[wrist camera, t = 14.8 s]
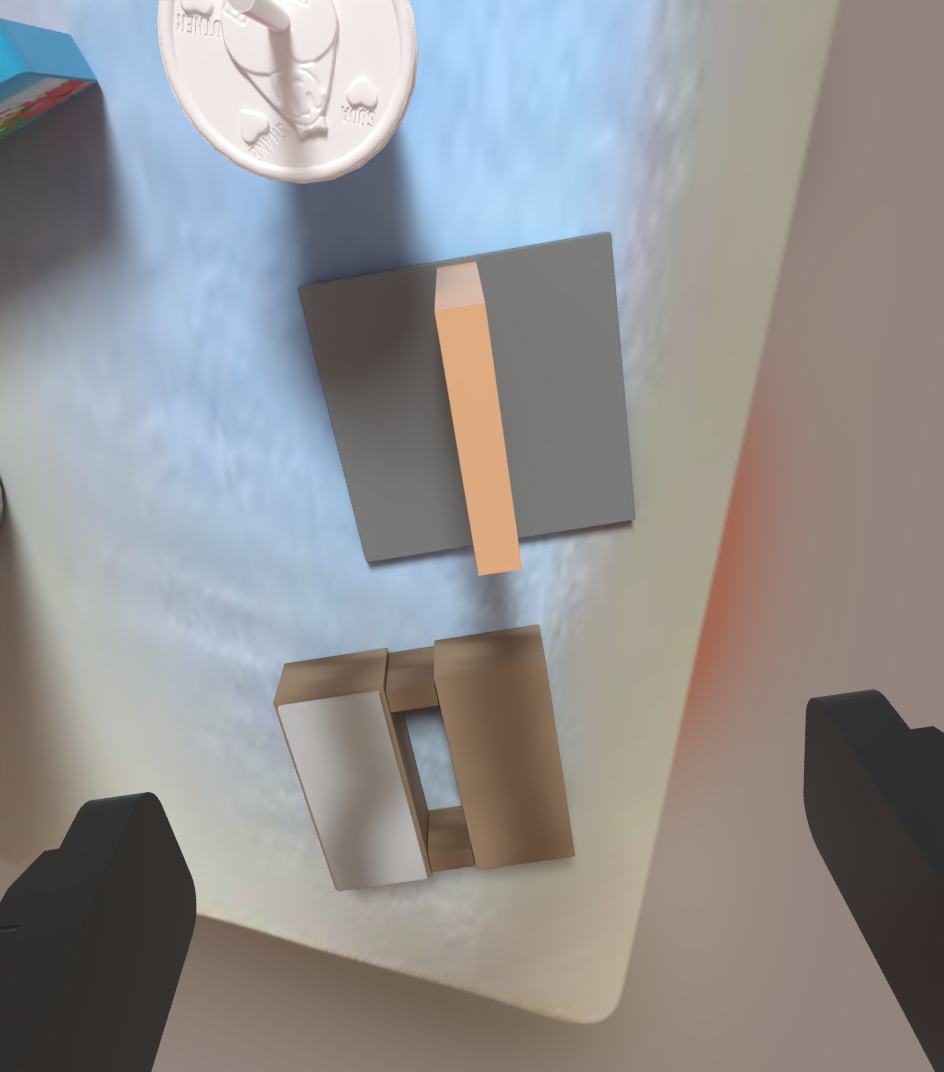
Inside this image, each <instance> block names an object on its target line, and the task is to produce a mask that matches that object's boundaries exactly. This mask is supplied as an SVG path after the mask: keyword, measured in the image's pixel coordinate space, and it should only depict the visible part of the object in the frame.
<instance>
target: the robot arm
mask: <svg viewBox="0 0 944 1072" xmlns="http://www.w3.org/2000/svg"><path fill="white" fill-rule="evenodd" d="M2 513H3V501H2V491H1V486H0V526H1V519H2ZM804 805H805V811H806V816H807V820H808V824H809V827H810V831H811V834H812V837H813V839H814V842H815V844H816V846H817V848H818V850H819V852H820V854H821V856H822V858H823V860H824V862H825V864H826V865H827V867H828V869H829V871H830V873H831V875H832V877H833V879H834V881H835V883H836V885H837V886H838V888H839V890H840V892H841V894H842V896H843V898H844V900H845V902H846V904H847V905H848V907H849V909H850V911H851V913H852V915H853V917H854V919H855V921H856V922H857V924H858V926H859V928H860V930H861V932H862V934H863V936H864V938H865V940H866V942H867V944H868V945H869V947H870V949H871V951H872V953H873V955H874V957H875V959H876V961H877V963H878V964H879V966H880V968H881V970H882V972H883V974H884V976H885V978H886V979H887V981H888V983H889V985H890V987H891V989H892V991H893V993H894V995H895V997H896V999H897V1001H898V1002H899V1004H900V1006H901V1008H902V1010H903V1012H904V1014H905V1016H906V1018H907V1019H908V1021H909V1023H910V1025H911V1027H912V1029H913V1031H914V1033H915V1035H916V1037H917V1039H918V1040H919V1042H920V1044H921V1046H922V1048H923V1050H924V1052H925V1054H926V1055H927V1057H928V1059H929V1061H930V1063H931V1065H932V1067H933V1069H934V1071H935V1072H944V733H943V732H942V731H940V730H939V729H937V728H935V727H934V726H931V727H924V728H917V729H910V728H909V727H908V726H907V724H906V723H905V722H904V721H903V719H902V718H901V717H900V715H899V714H898V713H897V711H896V710H895V709H894V708H893V707H892V705H891V704H890V703H889V701H888V700H887V699H886V698H885V696H884V695H883V694H882V693H880V692H879V691H877V690H873V689H872V690H865V691H858V692H851V693H844V694H837V695H830V696H824V697H817V698H812V699H810V700H809V702H808V704H807V708H806V727H805V759H804ZM195 919H196V893H195V887H194V882H193V879H192V876H191V874H190V871H189V869H188V866H187V864H186V862H185V859H184V857H183V854H182V852H181V850H180V847H179V845H178V842H177V840H176V838H175V835H174V833H173V830H172V828H171V826H170V823H169V821H168V818H167V816H166V814H165V811H164V809H163V807H162V804H161V802H160V800H159V799H158V798H157V796H156V795H155V794H153V793H151V792H146V793H139V794H132V795H125V796H118V797H111V798H104V799H97V800H91V801H88V802H86V803H85V804H84V805H83V806H82V807H81V808H80V810H79V812H78V813H77V815H76V817H75V819H74V821H73V823H72V825H71V827H70V829H69V830H68V832H67V834H66V836H65V838H64V840H63V842H62V844H61V846H60V848H59V849H55V850H48V851H44V852H43V853H42V854H41V855H40V856H39V857H38V858H37V859H36V860H35V861H34V862H33V863H32V864H31V865H30V866H29V868H28V869H27V870H26V871H25V872H24V873H23V874H22V875H21V876H20V877H19V878H18V879H17V880H16V881H15V882H14V883H13V884H12V885H11V886H10V887H9V888H8V890H7V891H6V893H5V895H4V897H3V898H2V900H1V902H0V1072H151V1070H152V1067H153V1064H154V1061H155V1057H156V1054H157V1051H158V1047H159V1044H160V1041H161V1037H162V1034H163V1031H164V1028H165V1024H166V1021H167V1018H168V1014H169V1011H170V1008H171V1004H172V1001H173V998H174V995H175V991H176V988H177V985H178V981H179V978H180V974H181V971H182V968H183V965H184V961H185V958H186V955H187V952H188V948H189V945H190V942H191V938H192V935H193V931H194V926H195Z"/></svg>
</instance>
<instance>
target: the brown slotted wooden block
mask: <svg viewBox="0 0 944 1072" xmlns="http://www.w3.org/2000/svg"><path fill="white" fill-rule="evenodd" d="M273 703H274V706H275V709H276V712H277V715H278V718H279V721H280V724H281V727H282V730H283V733H284V736H285V739H286V742H287V745H288V748H289V751H290V754H291V757H292V760H293V763H294V766H295V769H296V772H297V775H298V778H299V781H300V784H301V787H302V790H303V793H304V796H305V799H306V802H307V805H308V808H309V811H310V814H311V817H312V820H313V823H314V826H315V829H316V832H317V835H318V838H319V841H320V844H321V847H322V850H323V853H324V856H325V859H326V862H327V865H328V868H329V871H330V874H331V877H332V880H333V883H334V886H335V889H336V890H338V891H344V890H351V889H358V888H366V887H373V886H380V885H387V884H394V883H401V882H408V881H415V880H422V879H428V877H430V876H432V872H435V871H442V870H449V869H456V868H463V867H470V866H475V863H476V867H477V870H480V869H487V868H494V867H501V866H508V865H515V864H522V863H529V862H536V861H543V860H550V859H558V858H565V857H572V856H575V852H574V846H573V839H572V832H571V826H570V819H569V812H568V806H567V799H566V793H565V786H564V779H563V773H562V766H561V760H560V753H559V746H558V740H557V733H556V726H555V720H554V713H553V707H552V700H551V693H550V687H549V680H548V674H547V667H546V660H545V655H544V650H543V644H542V639H541V634H540V628H539V625H533V626H527V627H520V628H514V629H507V630H501V631H495V632H488V633H482V634H475V635H469V636H462V637H456V638H449V639H443V640H436V641H435V646H432V647H426V648H419V649H413V650H406V651H400V652H393V653H388V649H387V648H384V649H378V650H372V651H365V652H359V653H352V654H346V655H339V656H333V657H326V658H320V659H313V660H307V661H300V662H294V663H287V664H285V665H284V668H283V671H282V675H281V678H280V682H279V685H278V688H277V692H276V695H275V699H274V702H273ZM439 703H440V708H441V712H442V716H443V721H444V725H445V730H446V734H447V739H448V743H449V747H450V752H451V756H452V761H453V765H454V770H455V774H456V779H457V783H458V787H459V792H460V796H461V801H462V805H463V806H458V807H451V808H444V809H437V810H430V811H429V813H428V809H427V805H426V801H425V797H424V793H423V789H422V785H421V781H420V777H419V773H418V769H417V765H416V761H415V757H414V753H413V749H412V745H411V741H410V737H409V733H408V729H407V725H406V721H405V717H404V713H403V711H404V710H411V709H418V708H424V707H431V706H438V705H439Z"/></svg>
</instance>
